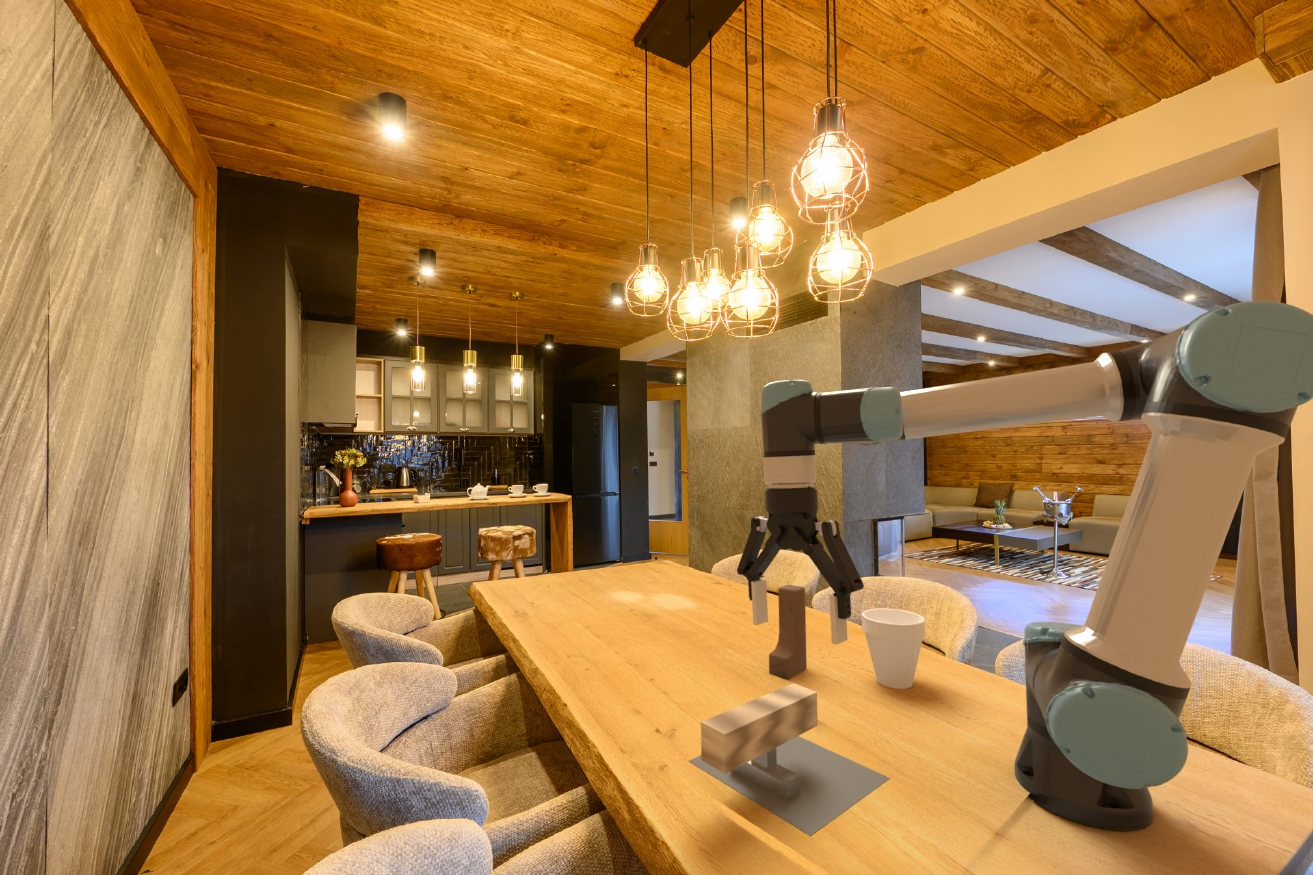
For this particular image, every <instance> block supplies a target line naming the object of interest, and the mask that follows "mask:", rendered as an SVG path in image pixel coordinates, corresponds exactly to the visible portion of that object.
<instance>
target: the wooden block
mask: <svg viewBox="0 0 1313 875" xmlns="http://www.w3.org/2000/svg"><path fill="white" fill-rule="evenodd" d="M806 620H807V619H806V588H805V587H804V586H801V585H800V586H799V585H793V584H786V585H783V586H780V587H778V631H779V632H778V641H777V643H776V646H775V648H774V649H773V650H772V651H771V652H770V653H769V654H768V666H769V667H768V673H769V675H772V676H775V677H778V678H781V679H783V680H788V679H791V678H792V677H794V676H795V675H797V674H799V673H800V672H802V671H804V670H806V669H807V666H808V665H807V632H806V631H807V626H806V624H807V622H806Z"/></svg>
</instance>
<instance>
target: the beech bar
mask: <svg viewBox="0 0 1313 875" xmlns="http://www.w3.org/2000/svg"><path fill="white" fill-rule="evenodd" d="M818 721H819V720H818V692H817V691H815V690H812V689H810V688H807V687H805V686H801V685H800V684H797V683H795V682H794V683H790V684H787V685H785V686H783V687H781V688H779V689H775V690H774V691H771V692H769V693H767V694H764V695H762V696H759V697H757V698H754V699H753V700H750V701H748V702H746V703H743V704H740V705H738V706H735V707H733V708H731V709H728V710H726V711H723V712H721V713H719V714H717V715H715V716H713V717H710V718H708V719H704V720H703V721H701V722H700V741H701V742H700V744H701V745H700V746H701V750H700V751H701V753H700V755H701V760H702V761H704V762H706V763H707V764H709V765H711V766H713V767H714V768H716V769H718V770H719V771H721V772H723V773H724V774H726V773H728V772H730V771H732V770H734V769H736V768H738V767H740V766H742V765H744V764H745V763H747V762H749V761H751V760H753V759H755V758H757V757H759V756H761V755H763V754H765V753H766V752H768V751H770V750H772V749H774V748H776V747H778V746H780V745H782V744H784V743H786V742H788V741H789V740H791V739H793V738H795V737H797V736H799V737H800V736H801V735H803V734H804V733H807V732H808V731H810V730H813V729H814V728H816V727H818Z"/></svg>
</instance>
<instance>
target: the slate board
mask: <svg viewBox="0 0 1313 875" xmlns="http://www.w3.org/2000/svg"><path fill="white" fill-rule="evenodd" d="M776 754H777V764H779V765H781V766H783V767H784V768H786V769H788V770H790V771H792V772H794V773H796V774H798V775H799V777H800V794H799V795H797V796H796V797H794V798H793V799H791V800H790V801H788V802H784V801H782V800H781V799H779V798H777V797H775V796H774V795H772V794H770V793H768V792H767V791H765V790H763V789H762V788H760V787H758V786H756V785H755V784H753V783H751V782H750V781H748V780H746V779H744V778H743V777H741V776H739V775H737V774H736V773H734V772H732V771H730V772H728V773H726V774H724V773H723V772H721V771H719V770H718V769H716V768H714V767H713V766H711V765H709V764H707V763H706V762H704V761H702V760H701V754H700V755H698V756H696V757H694V758H692V759H689V760H688V763H691V764H692V765H694V766H696V767H697V768H699V769H700V770H701V771H703V772H705V773H707V774H708V775H710V776H712V777H713V778H715V779H716V780H718V781H719V782H722V784H724V785H726V786H728V787H730V788H731V789H733V790H734V791H736V792H737V793H739V794H741V795H742V796H745V798H748V799H749V800H751V801H752V802H754V803H756V804H758V806H760V807H762V808H764V809H766V810H767V811H769V812H771V814H773V815H775V816H777V817H778V818H780V819H781V820H783V821H785V822H787V823H788V824H790V825H791V826H793V827H795V828H797V829H798V830H799V831H801V832H802V833H803V832H804V833H805V834H806V835H808V836H809V837H812V836H813V835H814V834H816V833H817V832H819V831H820V830H821V829H823V828H825V826H827V825H828V824H830V823H831V822H832V821H834V820H836V818H838V817H839V816H840V815H841V816H842V814H844V813H845V812H846V811H847V810H849V809H850V808H852V807H853V806H855V804H857V803H859V802H860V801H861V800H862V799H864V798H865V797H867V796H868V795H870V794H871V793H873V792H874V791H875V790H876V789H878V788H879V787H880V786H881V785H883V784H885V783H886V782H887V781H889V780H891V777H889V776H886V775H885V774H882V773H880V772H878V771H875V770H874V769H871V768H869V767H867V766H865V765H863V764H860V763H858V762H856V761H854V760H852V759H849V758H847V757H845V756H843V755H840V754H838V753H836V752H835V751H832V750H830V749H828V748H826V747H823V746H821V745H820V744H816V743H815V742H813V741H811V740H808V739H806V738H803V737H802V736H800V735H799V736H797V737H795V738H793V739H791V740H789V741H788V742H786V743H784V744H782V745H780V746H778V747H776Z"/></svg>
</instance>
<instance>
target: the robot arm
mask: <svg viewBox="0 0 1313 875" xmlns="http://www.w3.org/2000/svg"><path fill="white" fill-rule="evenodd" d="M812 386H813V385H812V383H811V382H810V381H808V380H806V379H805V380H804V379H793V380H792V379H791V380H790V379H789V380H788V379H786V380H776V381H773V382H769V383H767V384H765V385H764V386H763V388H762V389H761V398H760V399H761V401H760V402H761V404H760V405H761V407H760V408H761V412H760V417H761V418H760V419H761V431H762V432H761V433H762V448H763V449H762V451H763V483H764V484H766V485H768V487H766V490H764V498H765V511H766V512H767V513H768V517H766V516H764V515H762V516H755V517H752V518H751V519H750V532H749V534H748V537H747V539H746V540H747V541H746V544H745V546H744V549H743V551H742V554H741V557H740V559H739V563H738V565H737V568H736V573H737V574H738V575H740V576H741V575H742V576H743V577H745V578H746V579H747V582H748V583H747V585H748V598H749V601H750V602H751V605H752V607H751V608H752V623H753V625H754V626H759V625H762V624H765V623H767V622H769V611H768V610H769V608H768V594H767V593H768V590H767V579H766V578H764V577H765V576H764V574H765V572H766V571H767V569H768V568H769V567H770V565H771V564H772V562H773V561H774V559H775V558H776V557H777V555H778V554H779V552H780V551H781V550H792V551H796V552H800V551H802V552H803V553H804V554H805V556H808V557H809V558H810V560H811V561H812V563H813V564H814V565H815V567H816V568H817V569H818V571H819V573H820V574H821V575H822V577H823V578H824V580H825V581H826V582H827V584H828V585H829V587H830V588H831V590H833V593H831V594H828V595H829V596H828V597H829V609H830V610H829V611H830V612H829V614H830V632H831V634H830V635H831V644H833V645H839V644H841V643H844V642H847V641H848V640H849V639H848V624H847V623H848V622H847V620H848V619H850V618H851V616H852V605H851V604H852V603H851V602H852V600H851V595H852V593H855V592H857V591H860V590H863V589H864V587H865V586H864V582H863V580H862V578H861V575H860V574H859V572H858V570H857V568H856V566H855V563H854V560H852V557H851V556H850V554H849V551H848V549H847V547H846V545H845V542H844V541H843V539H842V536H841V533H840V532H841V531H840V524H839V522H838V520H836V519H830V520H826V521H819V519H818V517H817V515H818V514H817V513H818V511H819V502H818V500H819V499H818V489H817V488H816V487H815V486H813V484H815V483H816V482H817V466H816V465H817V464H816V463H817V462H816V445H826V444H854V443H857V444H859V445H863V446H875V445H879V444H881V443H882V444H883V443H888V442H889V443H890V442H897V441H904V440H912V439H919V438H920V439H921V438H922V439H923V438H928V437H929V438H930V437H936V436H943V435H944V436H946V435H954V434H962V433H970V432H971V433H972V432H979V431H986V430H987V431H988V430H997V429H1003V428H1013V427H1020V426H1029V425H1036V424H1038V425H1039V424H1047V423H1054V422H1061V421H1071V420H1072V421H1073V420H1079V419H1088V418H1096V417H1104V419H1107V420H1109V421H1110V422H1112V423H1117V422H1126V421H1136V420H1137V421H1138V420H1142V421H1143V422H1144V424H1145V425H1146V426H1147V427H1148V429H1149V430H1150V432H1151V437H1150V440H1149V443H1148V446H1147V449H1146V452H1145V454H1144V457H1143V460H1142V463H1141V466H1140V469H1139V471H1138V475H1137V476H1136V480H1135V483H1134V485H1133V488H1132V492H1130V497H1129V498H1128V499H1129V500H1128V502H1127V505H1126V508H1125V510H1124V512H1123V513H1124V514H1123V516H1122V519H1121V522H1120V524H1119V527H1118V530H1117V533H1116V536H1115V539H1114V542H1113V544H1112V546H1111V549H1110V552H1109V556H1108V559H1107V562H1106V564H1105V568H1104V569H1103V573H1102V575H1101V578H1100V581H1099V583H1098V586H1097V589H1096V592H1095V595H1094V597H1093V600H1092V603H1091V606H1090V608H1089V612H1088V615H1087V618H1086V620H1085V622H1084V624H1076V623H1064V622H1055V621H1054V622H1052V621H1038V622H1037V621H1035V622H1030V623H1028V624H1027V625H1025V628H1024V635H1023V640H1022V645H1023V646H1024V662H1025V663H1024V665H1025V666H1024V668H1025V671H1024V672H1025V695H1026V696H1025V699H1026V722H1027V725H1026V729H1025V733H1024V735H1023V737H1022V740H1021V743H1020V746H1019V749H1018V751H1017V753H1016V754H1017V755H1016V757H1015V759H1014V776H1015V778H1016V781H1017V782H1018V783H1019V785H1020V786H1021V787H1022V788H1023V789H1024V790H1025V791H1026V792H1028V793H1029V794H1028V795H1026V796H1027V798H1028V799H1030V800H1031V801H1033V802H1034V803H1035V804H1037V805H1038V806H1040V807H1041V808H1043V809H1045V810H1048V812H1051V813H1054V814H1056V815H1058V816H1059V817H1062V818H1064V819H1067V820H1070V821H1073V822H1075V823H1079V824H1083V825H1086V826H1089V827H1094V828H1098V829H1103V830H1111V831H1124V832H1125V831H1126V832H1127V831H1135V830H1142V829H1144V828H1146V827H1147V828H1148V826H1150V825H1151V823H1153V819H1154V808H1153V804H1154V803H1153V798H1152V794H1151V792H1150V790H1149V788H1150V787H1159V786H1162V785H1163V784H1166V783H1168V782H1169V781H1171V780H1174V778H1175V777H1177V775H1179V774H1180V772H1182V770H1183V768H1184V766H1186V762H1187V759H1188V755H1189V744H1188V739H1187V733H1186V730H1185V728H1184V725H1183V723H1182V722H1181V721H1180V717H1181V714H1182V713H1183V709H1184V706H1185V704H1186V702H1187V698H1188V695H1189V692H1190V690H1191V687H1192V683H1193V682H1192V681H1191V679H1190V678H1189V676H1188V675H1187V673H1186V672H1185V670H1184V668H1182V666H1181V663H1180V662H1181V661H1180V660H1181V657H1182V655H1183V652H1184V649H1185V646H1186V644H1187V641H1188V638H1189V635H1190V633H1191V631H1192V627H1193V625H1194V623H1195V620H1196V617H1197V615H1198V611H1199V609H1200V606H1201V605H1202V604H1201V603H1202V602H1203V599H1204V596H1205V593H1206V590H1207V588H1208V586H1209V582H1210V580H1211V578H1212V575H1213V572H1214V571H1215V567H1216V564H1217V561H1218V559H1219V556H1220V554H1221V551H1222V550H1223V546H1224V544H1225V543H1224V542H1225V540H1226V537H1227V535H1228V532H1229V530H1230V527H1231V524H1232V521H1233V519H1234V517H1235V514H1236V511H1237V509H1238V506H1239V503H1240V501H1241V498H1242V495H1243V493H1244V490H1245V487H1246V485H1247V483H1248V480H1249V476H1250V474H1251V471H1252V469H1253V466H1254V464H1255V461H1256V458H1257V456H1258V455H1259V454H1261V453H1263V452H1264V451H1265V452H1266V451H1267V450H1269V449H1272V448H1274V447H1277V446H1280V445H1281V444H1284V442H1285V441H1286V438H1287V434H1288V432H1289V430H1290V428H1291V425H1292V422H1293V420H1294V417H1295V415H1296V412H1297V409H1298V408H1299V406H1301V405H1305V404H1306V403H1308V402H1310V401H1311V400H1313V314H1312V313H1310V312H1309V311H1307V310H1305V309H1302V308H1301V307H1298V306H1294V305H1291V304H1289V303H1288V304H1287V303H1285V302H1280V301H1273V300H1272V301H1271V300H1249V301H1248V300H1247V301H1241V302H1237V303H1233V304H1229V305H1226V306H1221V307H1217V308H1213V309H1211V310H1208V311H1206V312H1203V313H1202V314H1200V315H1198V316H1196V318H1194V319H1192V320H1191V321H1190V322H1188V324H1185V325H1183V326H1181V327H1179V328H1177V329H1174V330H1173V331H1171V332H1169V333H1167V334H1164V335H1162V336H1160V337H1158V338H1157V337H1156V338H1155V339H1153V340H1150V341H1148V342H1145V343H1141V344H1139V345H1136V346H1132V347H1127V348H1124V349H1120V350H1113V351H1108V352H1107V351H1106V352H1102V353H1101V354H1099V355H1098V357H1097V358H1096V359H1095V360H1094V361H1092V362H1084V363H1080V364H1073V365H1066V366H1061V367H1054V368H1049V369H1048V368H1047V369H1041V370H1034V371H1029V372H1022V373H1016V374H1009V375H1003V376H998V377H997V376H996V377H990V378H989V377H988V378H984V379H978V380H977V379H976V380H970V381H964V382H959V383H953V384H951V383H950V384H945V385H938V386H932V387H926V388H920V389H914V390H913V389H912V390H908V391H900V390H899V388H897V387H895V386H886V387H884V386H882V387H877V386H870V387H868V388H866V387H865V388H857V389H856V388H855V389H848V390H847V389H846V390H837V391H829V392H816V391H815V392H814V390H813V387H812ZM767 531H769V533H770V535H769V537H768V538H767V540H766V541H765V543H764V539H765V537H766V533H767ZM818 534H819V535H820V536H821V537H822V538H823V541H824V544H825V546H826V548H827V551H828V553H827V552H826V550H825V549H824V547H825V546H824V544H823V543H822V542H821V540H820V539H819V537H818V536H817V535H818ZM763 543H764V546H763V549H762V550H761V548H762V545H763ZM829 554H830V556H829Z"/></svg>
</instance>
